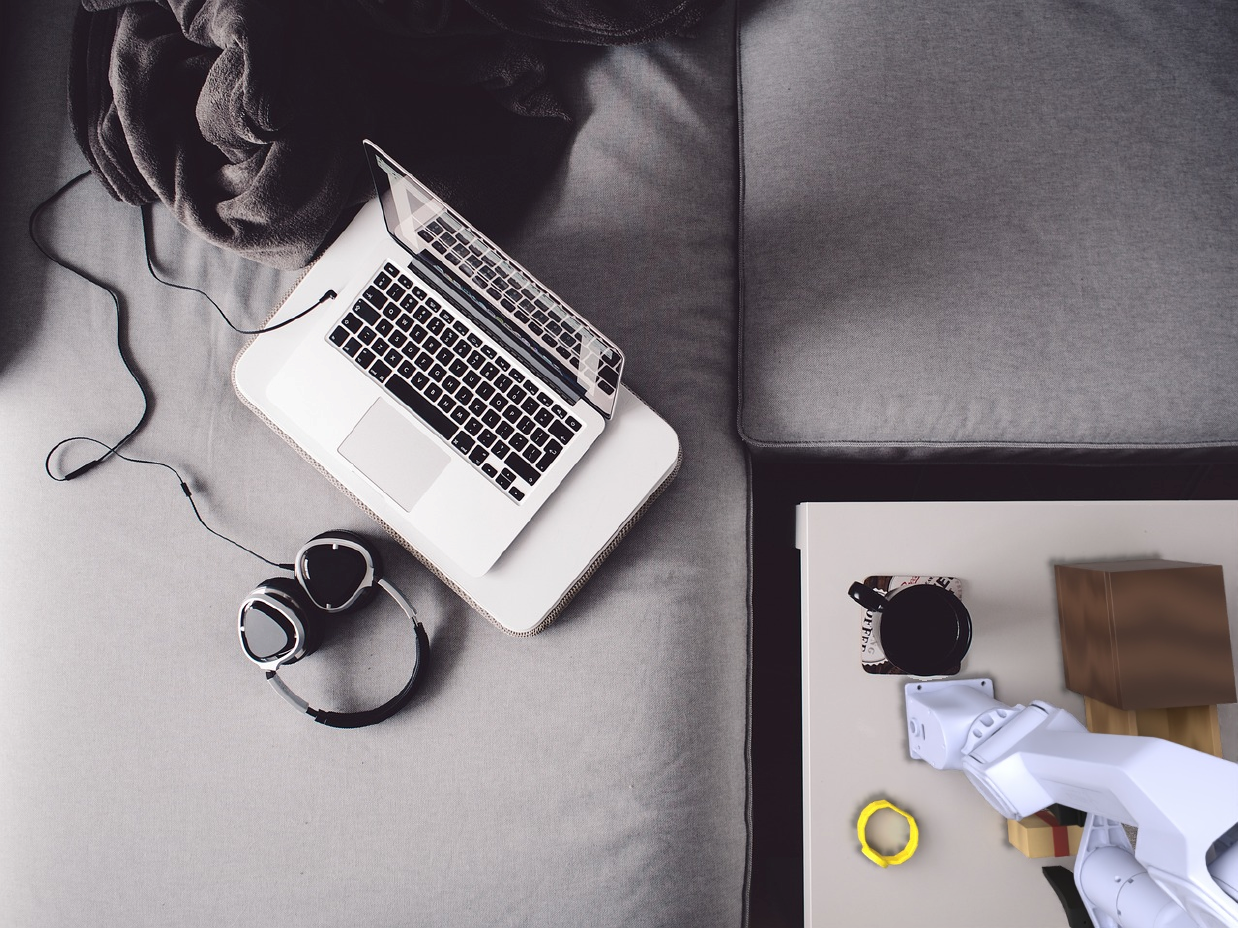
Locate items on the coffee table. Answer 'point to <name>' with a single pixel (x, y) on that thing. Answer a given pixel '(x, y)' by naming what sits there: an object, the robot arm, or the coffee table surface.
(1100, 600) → the cabinet
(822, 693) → the coffee table surface
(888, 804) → the yellow rubber band ring
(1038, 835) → the tan red striped block
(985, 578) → the coffee table surface
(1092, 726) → the pullout
